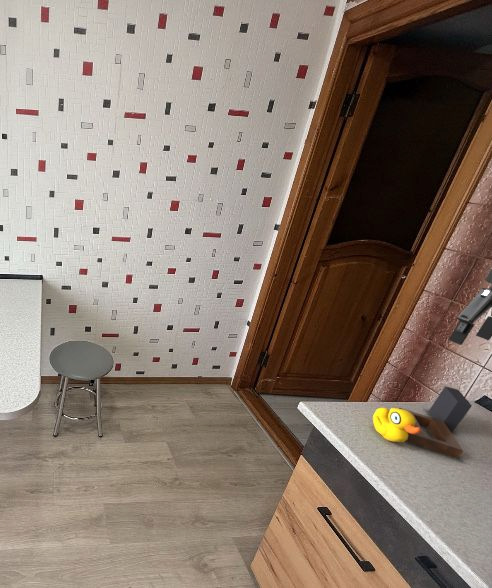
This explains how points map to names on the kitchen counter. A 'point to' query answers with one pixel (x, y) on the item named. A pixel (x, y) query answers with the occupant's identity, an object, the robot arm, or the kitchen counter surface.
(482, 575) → the kitchen counter surface
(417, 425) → the seat base
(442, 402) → the dark grey rectangular block
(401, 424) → the duckling
